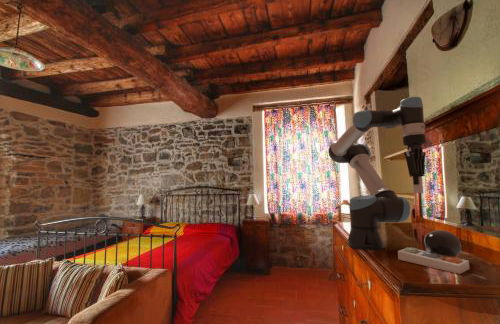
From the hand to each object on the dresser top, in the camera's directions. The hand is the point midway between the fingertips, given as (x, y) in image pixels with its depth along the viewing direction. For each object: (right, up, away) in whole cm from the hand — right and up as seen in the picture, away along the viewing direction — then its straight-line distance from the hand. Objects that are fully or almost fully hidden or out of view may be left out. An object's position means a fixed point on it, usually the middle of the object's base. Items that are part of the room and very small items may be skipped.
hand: (418, 192), depth 92 cm
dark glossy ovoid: (+9, -20, -3) cm, 22 cm away
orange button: (-1, -22, -17) cm, 28 cm away
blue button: (-4, -22, -12) cm, 26 cm away
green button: (-7, -23, -6) cm, 25 cm away
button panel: (-4, -24, -12) cm, 27 cm away
